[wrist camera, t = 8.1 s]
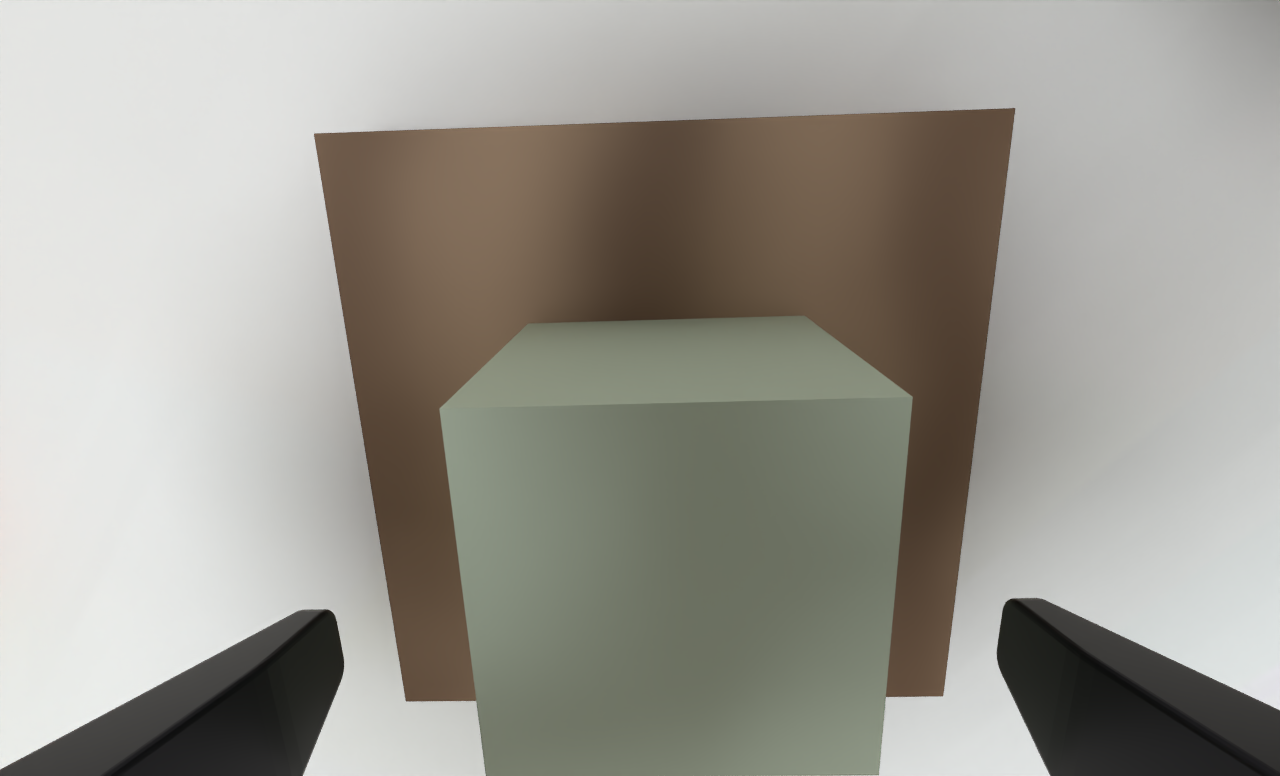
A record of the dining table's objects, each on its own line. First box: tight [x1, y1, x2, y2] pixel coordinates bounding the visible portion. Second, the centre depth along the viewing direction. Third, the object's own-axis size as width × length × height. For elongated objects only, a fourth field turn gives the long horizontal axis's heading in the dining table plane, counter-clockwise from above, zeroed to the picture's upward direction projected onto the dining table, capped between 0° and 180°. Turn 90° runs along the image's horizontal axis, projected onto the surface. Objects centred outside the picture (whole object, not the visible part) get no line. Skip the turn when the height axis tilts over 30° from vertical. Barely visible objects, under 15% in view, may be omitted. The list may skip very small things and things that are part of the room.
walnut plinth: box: [314, 108, 1015, 701], centre depth 16 cm, size 14×14×2 cm
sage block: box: [439, 316, 913, 776], centre depth 12 cm, size 6×6×6 cm
